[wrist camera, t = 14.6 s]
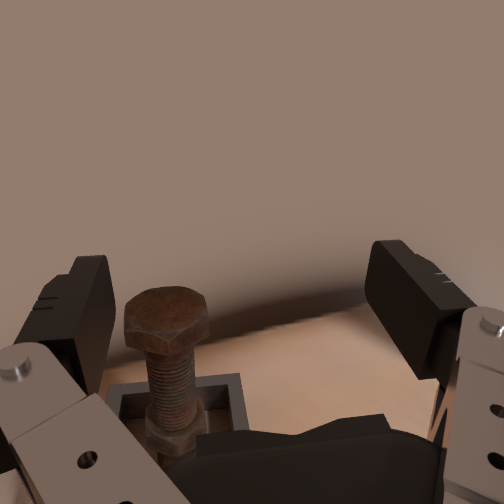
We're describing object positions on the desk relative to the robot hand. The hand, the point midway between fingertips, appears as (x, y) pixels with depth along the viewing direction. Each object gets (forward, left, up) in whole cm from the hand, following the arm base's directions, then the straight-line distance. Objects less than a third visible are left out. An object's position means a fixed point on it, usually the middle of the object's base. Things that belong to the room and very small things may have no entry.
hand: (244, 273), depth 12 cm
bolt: (+3, -11, -24) cm, 27 cm away
